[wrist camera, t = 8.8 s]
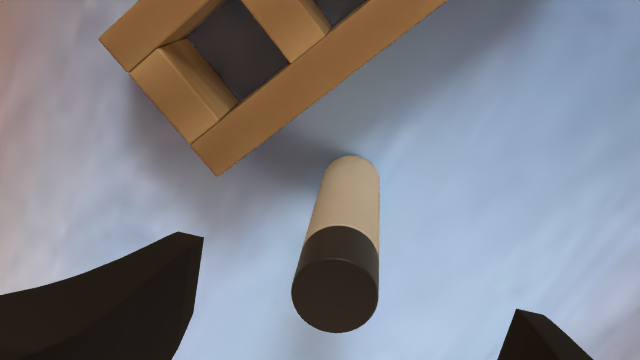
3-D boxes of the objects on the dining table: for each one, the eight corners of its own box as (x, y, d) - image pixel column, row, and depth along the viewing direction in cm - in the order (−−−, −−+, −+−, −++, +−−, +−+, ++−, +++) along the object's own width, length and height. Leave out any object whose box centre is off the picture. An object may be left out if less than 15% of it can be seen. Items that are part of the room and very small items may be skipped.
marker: (391, 187, 23) (396, 306, 15) (346, 219, 23) (327, 348, 15) (356, 143, 22) (341, 241, 14) (310, 176, 23) (273, 287, 15)
